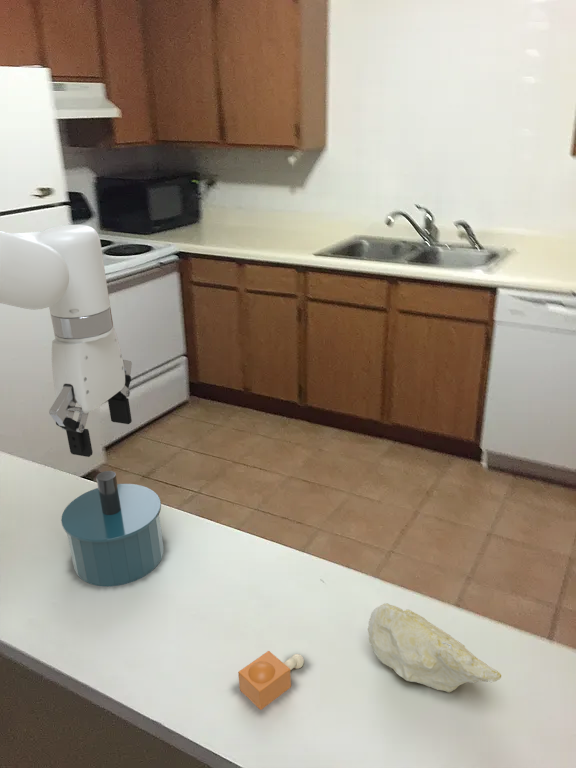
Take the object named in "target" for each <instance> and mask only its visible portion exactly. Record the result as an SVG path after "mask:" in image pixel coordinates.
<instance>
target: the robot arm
mask: <svg viewBox="0 0 576 768" xmlns="http://www.w3.org/2000/svg"><path fill="white" fill-rule="evenodd" d="M109 296H110V295H109V288H108V282H107V276H106V270H105V263H104V255H103V249H102V244H101V238H100V235H99V232H98V231H97V230H96V229H95V228H94V227H92V226H90V225H86V224H63V225H57V226H52V227H48V228H46V229H44V230H42V231H41V230H40V231H28V232H7V231H3V230H0V304H3V305H7V306H11V307H16V308H20V309H24V310H35V311H37V310H43V309H48V308H49V309H48V310H49V313H50V318H51V323H52V329H53V335H54V339H53V340H52V341H51V369H52V370H51V371H52V379H53V387H54V394H55V400H54V402H53V403H52V405H51V407H50V408H49V411H48V412H49V416H50V417H51V418H52V419H53V421H54V422H55V424H56V426H57V427H60V428H61V429H62V430H63V431H66V436H67V437H66V438H67V443H68V446H69V451H70V452H69V453H70V454H71V455H75V456H80V457H85V458H90V457H91V456H92V455H93V447H92V442H91V441H92V440H91V436H90V431H89V429H88V428H86V424H87V420H88V417H89V415H90V413H91V412H93V411H95V410H96V409H98V408H99V407H100V406H102V405H103V404H105V403H106V402H107V403H108V404H107V405H108V410H109V415H110V421H111V422H112V423H117V424H125V425H130V424H131V423H132V422H133V420H132V412H131V407H130V399H129V397H130V395H131V390H130V389H129V388H130V385H131V383H132V377H131V373H132V365H133V363H132V361H131V360H126V359H123V355H122V350H121V346H120V342H119V339H118V336H117V332H116V329H115V326H114V322H113V315H112V308H111V302H110V298H109ZM76 404H78V406H76ZM79 406H80V407H79ZM76 413H77V414H78V418H77V420H75V419H74V416H75V414H76Z"/></svg>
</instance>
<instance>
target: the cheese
mask: <svg viewBox="0 0 576 768" xmlns="http://www.w3.org/2000/svg"><path fill="white" fill-rule="evenodd" d="M367 631H368V641H369V644H370V645H371V649H372V651H373V652H374V654H375V655H376V657H377V659H378V660H379V661H380V662H381V663H382V664H383V665H384V666H385V665H386V666H387V667H389V668H390V669H393V671H394V672H395V674H397V675H398V676H399V677H400V678H402V679H403V680H404V681H406V682H409V683H410V682H411V683H418V684H421V685H423V686H426V687H428V688H432V689H434V690H436V691H442V692H446V693H451V692H453V691H455V690H457V689H458V687H460V686H461V685H464V684H466V683H471V684H473V683H477V682H479V681H480V682H483V683H489V684H492V683H494V682H497V681H499V680H500V679H501V678H502V674H501V673H500V671H499V670H497V669H495V668H493V667H492V666H489V665H488V664H487V663H486V662H484V661H483V660H481V659H479V658H478V657H477V656H476V655H474V654H473V653H472V652H471V651H470V650H468V649H467V648H466V646H465V645H464V644H463V643H461V642H459V640H457V639H455V638H454V637H453V636H451V635H450V634H449V633H448V632H446V631H444V630H443V629H441V628H439V627H438V626H436V625H434V624H433V623H431V622H430V621H428V620H427V619H426V618H425V617H423V616H422V615H420V614H418V613H417V612H415V611H412V610H410V609H404V610H403V609H402V608H400V607H398V606H396V605H392V604H390V603H386V602H385V603H383V604H381V605H379V606H377V607H375V608H374V609H373V610H372V612H371V613H370V617H369V621H368V626H367Z"/></svg>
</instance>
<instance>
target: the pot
mask: <svg viewBox="0 0 576 768" xmlns="http://www.w3.org/2000/svg"><path fill="white" fill-rule="evenodd" d="M66 535H67V540H68V545H69V551H70V555H71V559H72V565H73V569H74V571H75V574H76V575H77V576H78V578H79V579H80V580H82V581H83V582H85V583H87V584H90V585H93V586H97V587H98V586H99V587H118V586H122V585H127V584H131V583H133V582H136V581H138V580H140V579H143V578H144V577H147V576H148V575H149V574H150V573H151V572H153V571H154V570H155V569H156V568H157V567H158V566H159V564H160V563H161V561H162V559H163V556H164V550H165V549H164V548H165V547H164V540H163V533H162V525H161V518H160V514H159V515H158V517H157V518H156V520H155V521H154V522H153V523H152V524H151V525H149V526H148V527H147V528H145V529H144V530H142V531H141V532H139V533H137V534H135V535H132V536H130V537H127V538H124V539H120V540H116V541H110V542H86V541H81V540H78V539H75V538H73V537H71V536H70V535H68V534H67V533H66Z"/></svg>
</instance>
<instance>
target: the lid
mask: <svg viewBox="0 0 576 768" xmlns="http://www.w3.org/2000/svg"><path fill="white" fill-rule="evenodd" d="M116 474H117V473H116V472H115V471H113V470H105V471H101V472H99V473H97V474H96V477H95V479H96V484H97V488H93V489H91V490H88V491H86V492H84V493H83V494H82V493H81V495H79V496H77V497H75V498H74V499H73V500H72V501H71V502H70V503H68V505H67V506H66V507H65V508H64V509H63V511H62V515H61V520H60V521H61V526H62V528H63V531H64V532H65V533H66V535H67V534H68V535H70V536H71V537H73V538H75V539H78V540H81V541H86V542H110V541H116V540H120V539H124V538H127V537H130V536H132V535H135V534H137V533H139V532H141V531H142V530H144V529H145V528H147V527H148V526H149V525H151V524H152V523H153V522H154V521H155V520H156V518H157V517H158V515H159V516H160V513H161V510H162V503H161V498H160V496H159V495H158V493H157V492H155V491H154V490H152V489H151V488H149V487H147V486H144V485H140V484H136V483H135V484H134V483H118V479H117V475H116Z"/></svg>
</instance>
